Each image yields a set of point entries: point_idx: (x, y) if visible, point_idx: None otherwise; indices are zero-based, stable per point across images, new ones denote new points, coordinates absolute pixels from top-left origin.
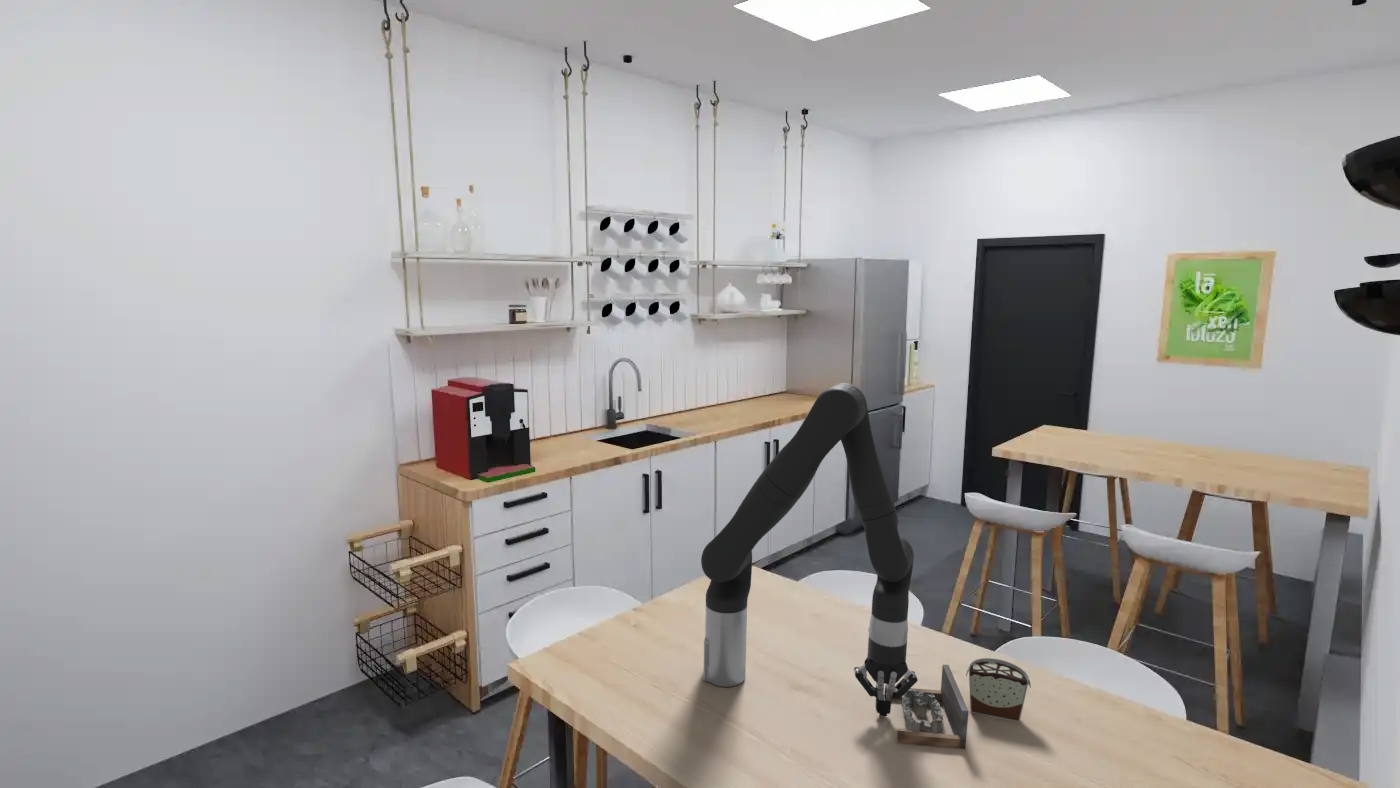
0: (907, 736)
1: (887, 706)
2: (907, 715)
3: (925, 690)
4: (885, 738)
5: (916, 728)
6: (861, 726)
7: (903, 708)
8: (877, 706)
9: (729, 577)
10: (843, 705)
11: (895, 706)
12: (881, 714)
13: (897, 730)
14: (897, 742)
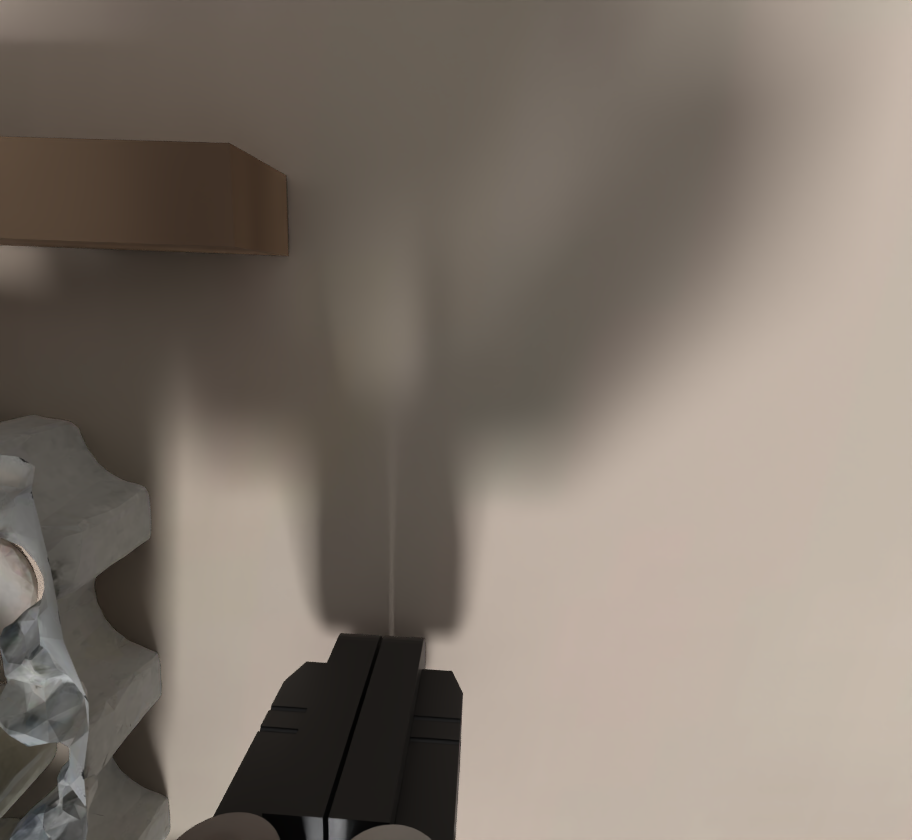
0: (104, 141)
1: (301, 727)
2: (44, 572)
3: None
4: (419, 271)
5: (16, 428)
6: (664, 476)
7: (88, 715)
8: (447, 739)
9: None
10: (776, 812)
11: None
12: (404, 644)
13: (231, 242)
14: (284, 189)
